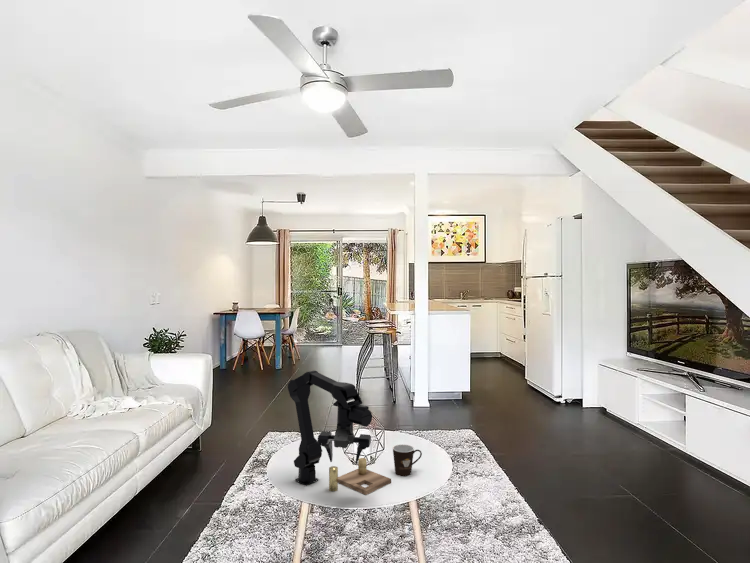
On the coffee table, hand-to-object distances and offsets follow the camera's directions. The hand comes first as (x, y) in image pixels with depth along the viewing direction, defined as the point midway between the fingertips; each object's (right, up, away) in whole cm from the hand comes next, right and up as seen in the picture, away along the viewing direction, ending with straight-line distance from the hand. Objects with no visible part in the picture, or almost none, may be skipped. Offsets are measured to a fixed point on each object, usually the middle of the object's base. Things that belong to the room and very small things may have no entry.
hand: (343, 462), depth 166 cm
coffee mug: (+24, -12, +20) cm, 34 cm away
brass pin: (-4, -12, +5) cm, 14 cm away
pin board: (+7, -12, +11) cm, 18 cm away
